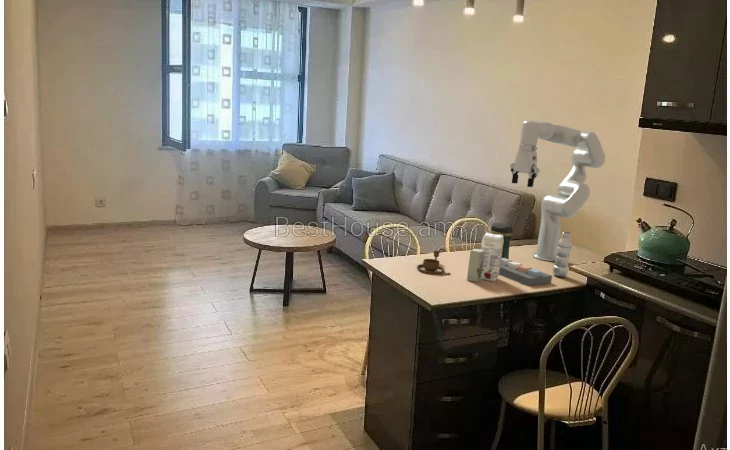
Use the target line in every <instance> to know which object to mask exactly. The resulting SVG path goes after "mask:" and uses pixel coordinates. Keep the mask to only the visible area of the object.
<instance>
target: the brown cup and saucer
mask: <svg viewBox="0 0 730 450" xmlns="http://www.w3.org/2000/svg"><path fill="white" fill-rule="evenodd" d="M439 256H440V251H439V250H434V251H433V257H434V258H424V259H422V260H423V262H422V263H421V264H417V266H416V269H417V271H419V272H421V273H424V274H426V275H427V274H428V275H440V277H443V276H449V275H451V272H445V271H446V270H445V268H444V267H443V266H440V264H441V263H440V261H439V260H438V258H439ZM422 268H424V269H422ZM437 270H440V271H437ZM444 272H445V273H444ZM443 273H444V274H443Z"/></svg>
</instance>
